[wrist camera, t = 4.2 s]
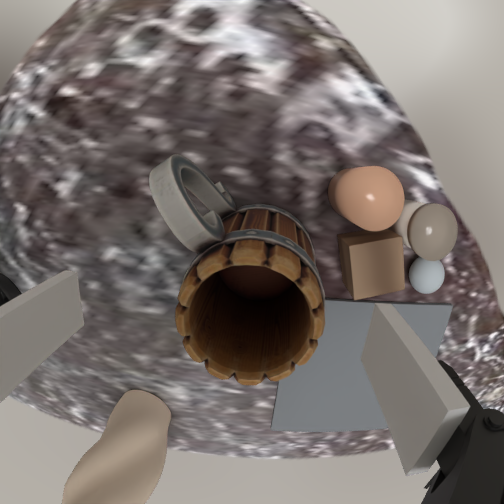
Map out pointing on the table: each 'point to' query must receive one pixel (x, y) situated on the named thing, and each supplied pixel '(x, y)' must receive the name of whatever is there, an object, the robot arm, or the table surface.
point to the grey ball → (426, 275)
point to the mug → (240, 279)
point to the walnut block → (371, 262)
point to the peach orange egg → (367, 197)
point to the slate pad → (347, 369)
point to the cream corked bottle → (123, 455)
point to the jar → (427, 229)
